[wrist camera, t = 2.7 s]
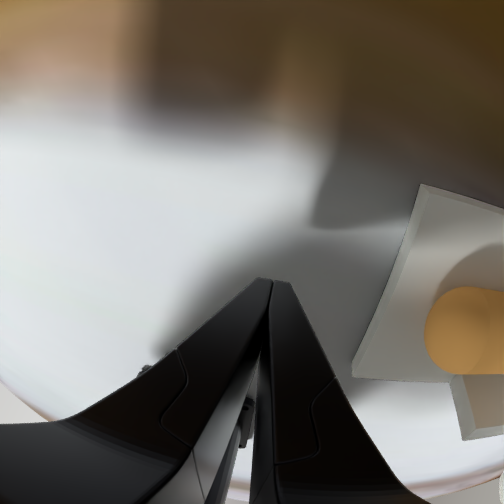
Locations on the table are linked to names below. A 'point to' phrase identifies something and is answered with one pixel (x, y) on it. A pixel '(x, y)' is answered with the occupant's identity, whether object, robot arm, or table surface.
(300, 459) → the robot arm
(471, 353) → the orange rounded block
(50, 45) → the table surface
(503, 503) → the vase
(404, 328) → the white open box
